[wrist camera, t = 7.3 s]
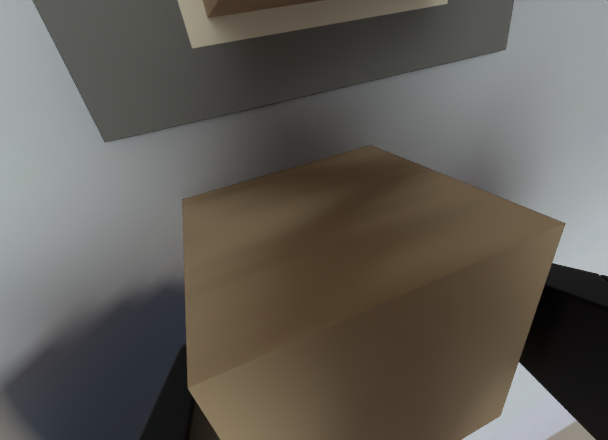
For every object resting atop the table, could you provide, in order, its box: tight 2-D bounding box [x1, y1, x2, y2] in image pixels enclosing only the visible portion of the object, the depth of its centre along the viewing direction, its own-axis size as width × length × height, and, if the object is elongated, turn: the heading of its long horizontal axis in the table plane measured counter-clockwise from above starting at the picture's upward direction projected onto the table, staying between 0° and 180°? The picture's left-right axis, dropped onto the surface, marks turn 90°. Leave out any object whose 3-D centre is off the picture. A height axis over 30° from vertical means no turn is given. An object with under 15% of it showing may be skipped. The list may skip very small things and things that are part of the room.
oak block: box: [182, 145, 565, 440], centre depth 8 cm, size 6×6×6 cm
